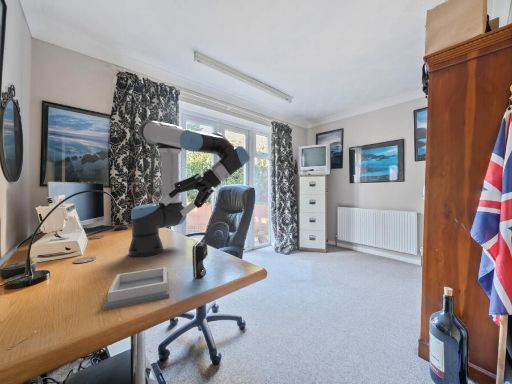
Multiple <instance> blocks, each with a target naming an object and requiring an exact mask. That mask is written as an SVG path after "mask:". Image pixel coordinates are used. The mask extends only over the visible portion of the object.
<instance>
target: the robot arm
mask: <svg viewBox="0 0 512 384" xmlns="http://www.w3.org/2000/svg"><path fill="white" fill-rule="evenodd" d="M138 135H139V137H140V139H141V140H142V141H143V142H145V143H148V144H150V145H156V146H157V150H158V151H159V152H160V154H161V155H160V156H161V157H160V159H161V160H160V161H161V163H160V164H161V165H160V167H161V198H160V200H159V201H158V203H148V204H147V203H145V204H140V205H137V206H135V207H134V206H133V208H132V209H131V213H130V214H131V216H130V219H131V220H130V221H131V232H132V233H131V235H132V236H131V237H132V238H131V242H130V245H129V249H128V256H129V257H134V258H142V257H149V256H153V255H154V256H155V255H158V254H159V253H162V252H163V251H164V245H163V241H162V240H161V237H160V234H159V233H160V232H159V230H160V229H164V228H169V227H176V226H179V225H182V224H183V223H184V222H185V220H186V218H187V215H188V214H189V213H190V212H191V211H193V210H195V208H197V209H199V208H202V207H203V205H204V204H205V202H206V201H207V200H208V198H209V197H210V196H211V195H212V194H213V193H215V192H214V191H215V190H214V189H216V188H217V187H218V186H219V185H221V184H222V182H224V181H225V180H227V179H229V177H230V176H232V175H233V174H234V173H235V172H237V171H238V170H239V169H241V168H242V167H244V165H245V164H247V163H248V162H249V161H250V159H251V158H250V154H249V153H248V151H247V150H246V149H245V147H244V146H242V145H237V146H234V145H233V144H232V143H231V142H230V141H229V139H227V137H226V136H225V135H224V134H223V133H221V132H219V131H216V132H212V133H211V134H209V133H206V132H201V131H198V130H194V129H184V128H182V127H181V126H178V125H176V124H171V123H165V122H162V121H158V120H152V119H151V120H149V119H148V120H145V121H143V122H141V123H140V125H139V126H138ZM182 150H184V151H188V152H193V153H197V152H198V153H203V154H211V155H217V156H218V157H219V158H220V160H218V161H217V162H216V163H214V164H212V166H211V168H208V169H206V170H205V171H204V172H203V173H202V175H203V176H201V174H200V173H196V174H194V175H192V176H190V177H188V178H185V179H183V180H179V179H180V177H179V176H180V175H179V174H180V169H179V168H180V167H179V164H180V163H179V162H180V161H179V159H180V158H179V157H180V155H179V154H180V153H182ZM192 190H197V191H198V192H197V195H196V196H195V199H194V201H191V202H190V203H189V204H188V205H186V206H185V205H184V204H183V201H182V200H181V199H180V197H179V196H181V193H185V192H189V191H192Z"/></svg>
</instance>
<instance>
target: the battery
mask: <svg viewBox="0 0 512 384" xmlns="http://www.w3.org/2000/svg"><path fill="white" fill-rule="evenodd" d="M191 254H192V271H193V272H192V276H193V279H200V278H203V277H204V275H205V274H206V273H207V269H206V268H205V266H204V260H205V259H206V258H207V257H208V245H207V243H206V242H201V241H200V242H199V241H198V242H196V243H195V244H194V245H193V246H192V253H191Z"/></svg>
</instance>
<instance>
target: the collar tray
mask: <svg viewBox="0 0 512 384" xmlns="http://www.w3.org/2000/svg"><path fill="white" fill-rule="evenodd" d="M169 283H170V282H169V272H168V271H167V266H163V267H156V268H151V269H145V270H137V271H132V272H131V271H130V272H125V273H124V272H123V273H118V274H116V276H115V277H114V280H113V282H112V284H111V285H110V287H109V290H108V291H107V299H106V300H105V304H104V305H103V311H107V310H112V309H117V308H123V307H127V306H132V305H137V304H140V303H146V302H151V301H156V300H161V299H165V298H170V284H169Z"/></svg>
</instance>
